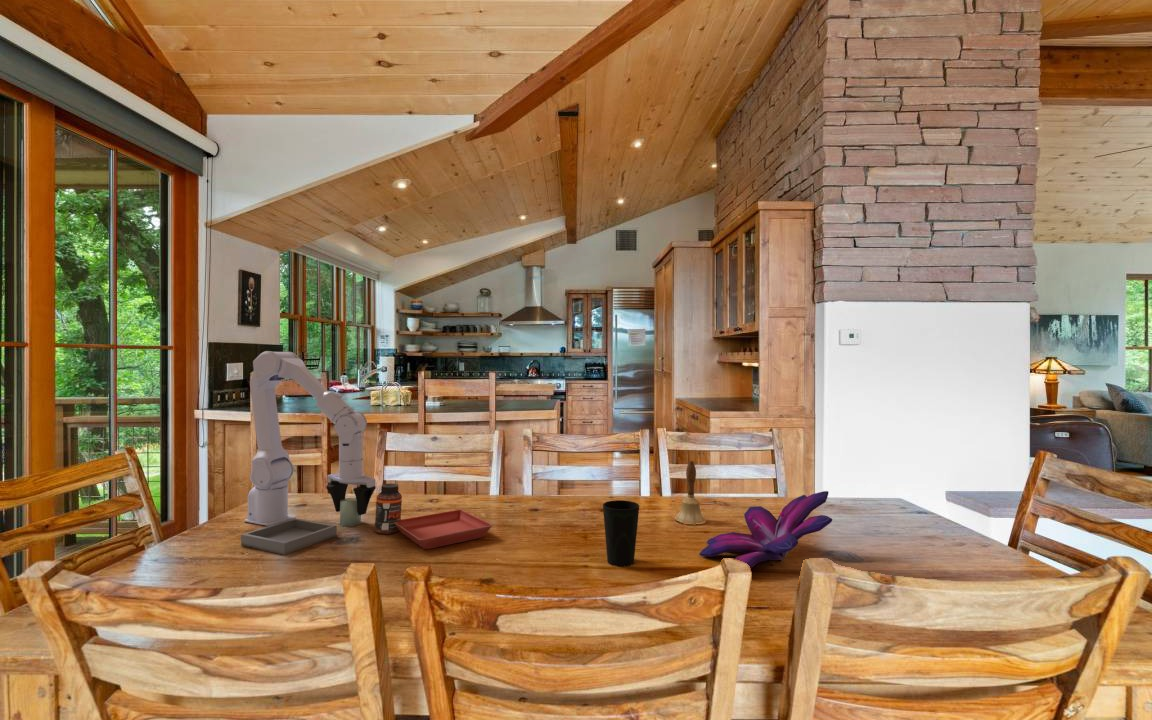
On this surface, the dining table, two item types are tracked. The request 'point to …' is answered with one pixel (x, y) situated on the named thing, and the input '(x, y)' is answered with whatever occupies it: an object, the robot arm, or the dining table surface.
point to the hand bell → (690, 500)
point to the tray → (288, 536)
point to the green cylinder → (349, 512)
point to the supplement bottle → (388, 509)
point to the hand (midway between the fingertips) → (350, 512)
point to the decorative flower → (771, 531)
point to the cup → (620, 531)
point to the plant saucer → (443, 528)
